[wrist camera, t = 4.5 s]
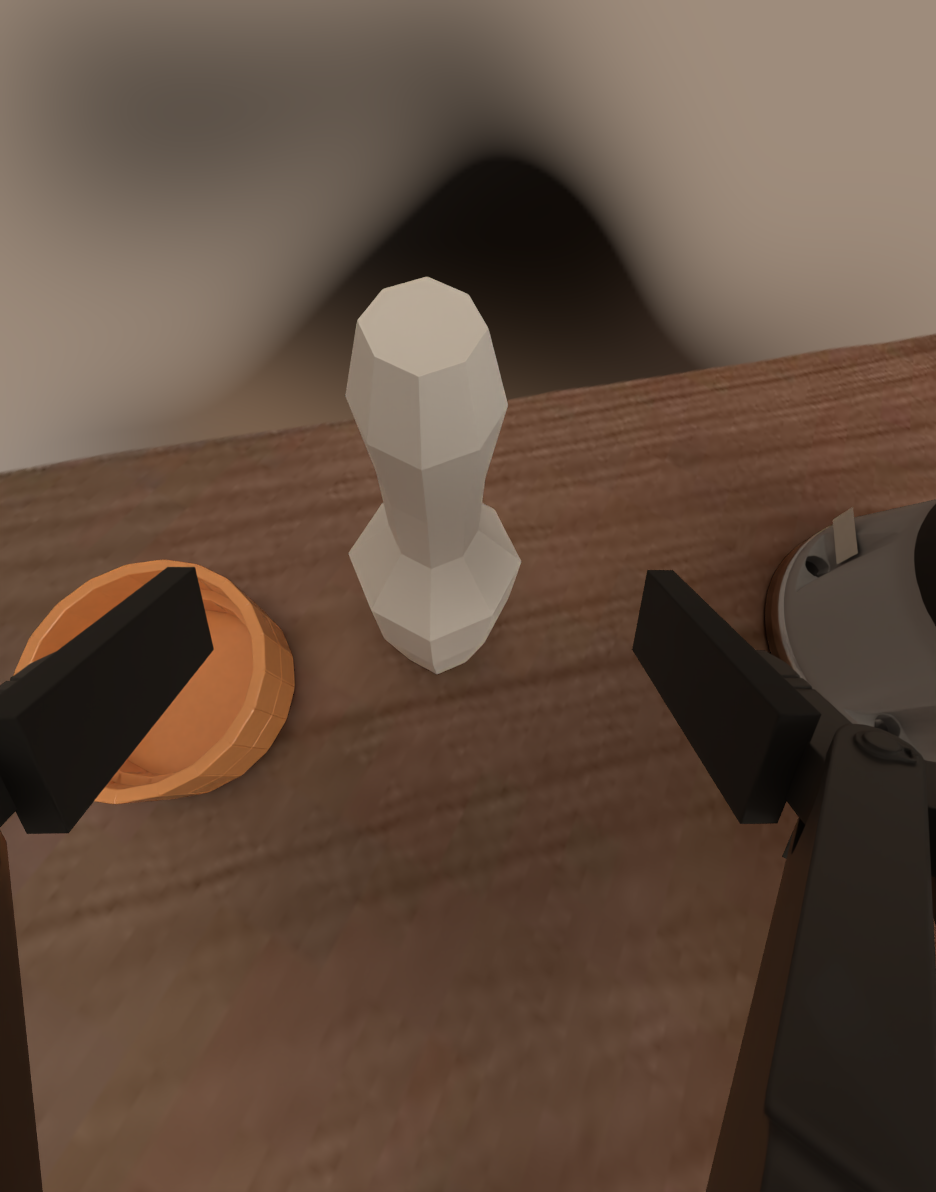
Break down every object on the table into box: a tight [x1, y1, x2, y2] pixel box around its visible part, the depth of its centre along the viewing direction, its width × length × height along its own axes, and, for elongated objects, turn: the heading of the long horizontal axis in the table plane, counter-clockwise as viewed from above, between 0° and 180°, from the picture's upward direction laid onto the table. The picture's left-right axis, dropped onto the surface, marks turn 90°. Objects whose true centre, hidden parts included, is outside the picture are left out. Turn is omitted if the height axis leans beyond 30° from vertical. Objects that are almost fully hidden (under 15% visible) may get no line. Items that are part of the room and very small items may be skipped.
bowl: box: [14, 559, 295, 804], centre depth 26 cm, size 11×11×6 cm
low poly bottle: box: [345, 277, 521, 674], centre depth 20 cm, size 6×6×22 cm
